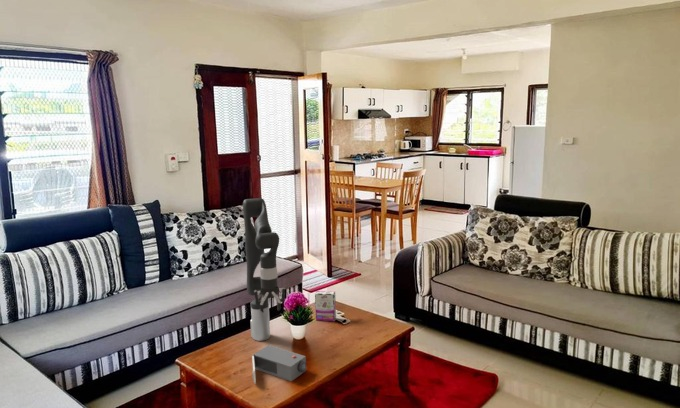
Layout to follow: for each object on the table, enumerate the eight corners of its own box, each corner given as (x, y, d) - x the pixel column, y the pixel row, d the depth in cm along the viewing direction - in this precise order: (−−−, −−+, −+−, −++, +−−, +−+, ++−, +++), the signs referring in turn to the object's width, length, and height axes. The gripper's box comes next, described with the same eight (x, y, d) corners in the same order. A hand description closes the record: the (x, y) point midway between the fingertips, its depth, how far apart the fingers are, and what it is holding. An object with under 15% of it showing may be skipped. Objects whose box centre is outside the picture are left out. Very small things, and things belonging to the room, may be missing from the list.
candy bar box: (336, 318, 278) (335, 291, 275) (334, 321, 273) (334, 294, 270) (317, 317, 280) (316, 290, 277) (315, 320, 275) (314, 293, 272)
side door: (251, 367, 223) (251, 355, 222) (254, 366, 223) (253, 354, 222) (253, 383, 209) (252, 370, 208) (256, 383, 209) (255, 370, 208)
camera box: (253, 368, 223) (253, 353, 222) (269, 358, 232) (268, 343, 231) (294, 382, 211) (293, 366, 209) (309, 371, 220) (308, 355, 218)
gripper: (253, 280, 211) (255, 316, 214) (285, 277, 214) (287, 312, 217) (252, 275, 218) (254, 309, 221) (284, 272, 222) (285, 306, 224)
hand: (270, 311), depth 219 cm, fingers open, 6 cm apart
